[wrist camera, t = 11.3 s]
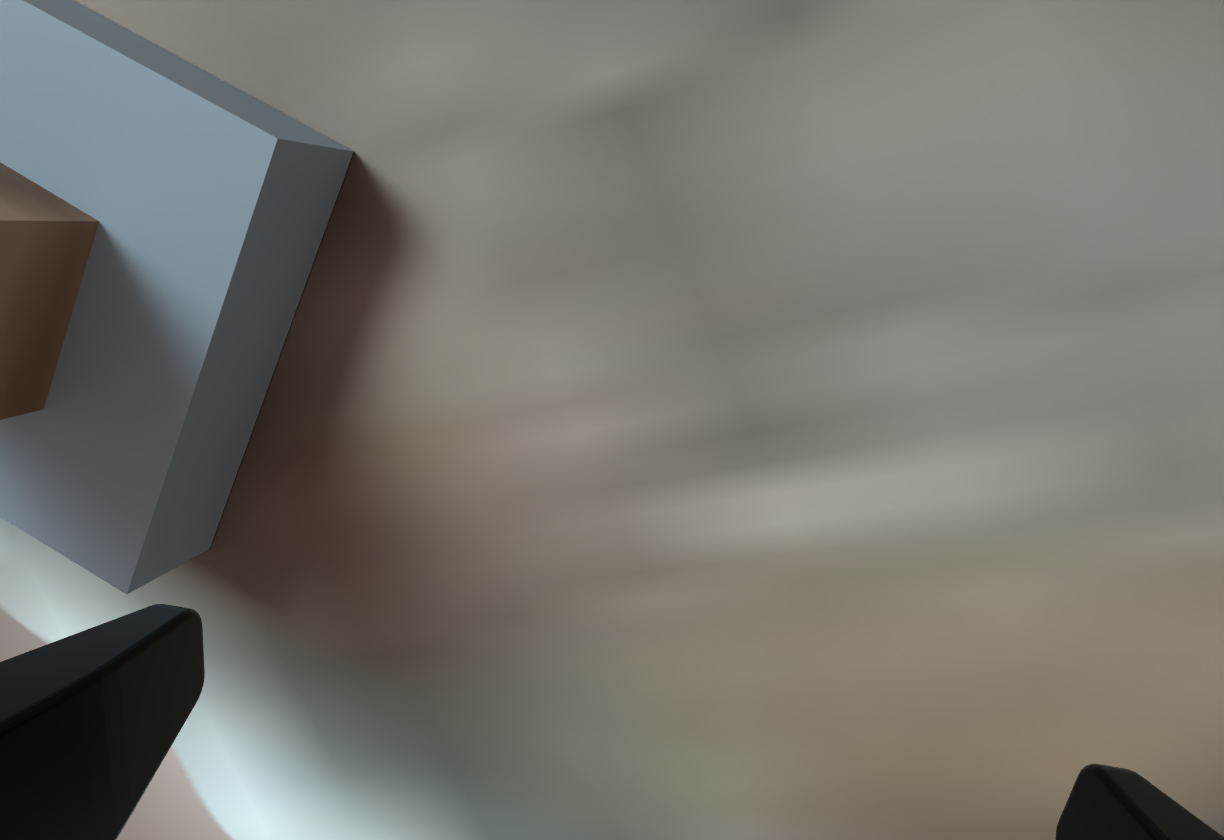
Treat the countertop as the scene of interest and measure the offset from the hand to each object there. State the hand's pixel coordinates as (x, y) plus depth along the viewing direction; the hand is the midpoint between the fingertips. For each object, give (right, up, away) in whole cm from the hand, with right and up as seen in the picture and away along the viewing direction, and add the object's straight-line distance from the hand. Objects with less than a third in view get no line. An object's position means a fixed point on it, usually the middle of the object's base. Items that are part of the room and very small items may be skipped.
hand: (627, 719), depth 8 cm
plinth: (-14, +7, +14) cm, 21 cm away
